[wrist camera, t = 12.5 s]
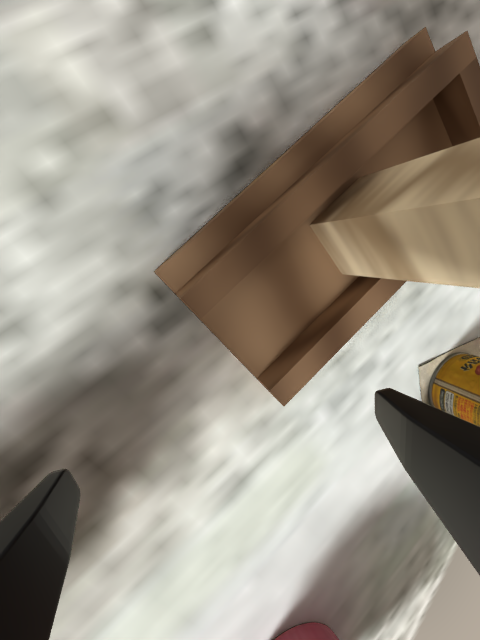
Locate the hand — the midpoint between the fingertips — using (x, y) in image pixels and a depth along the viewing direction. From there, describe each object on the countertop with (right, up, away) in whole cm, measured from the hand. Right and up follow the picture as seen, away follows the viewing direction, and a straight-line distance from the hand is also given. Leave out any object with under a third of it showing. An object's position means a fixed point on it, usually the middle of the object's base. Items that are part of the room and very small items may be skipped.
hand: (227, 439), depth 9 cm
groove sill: (+7, +10, +12) cm, 17 cm away
